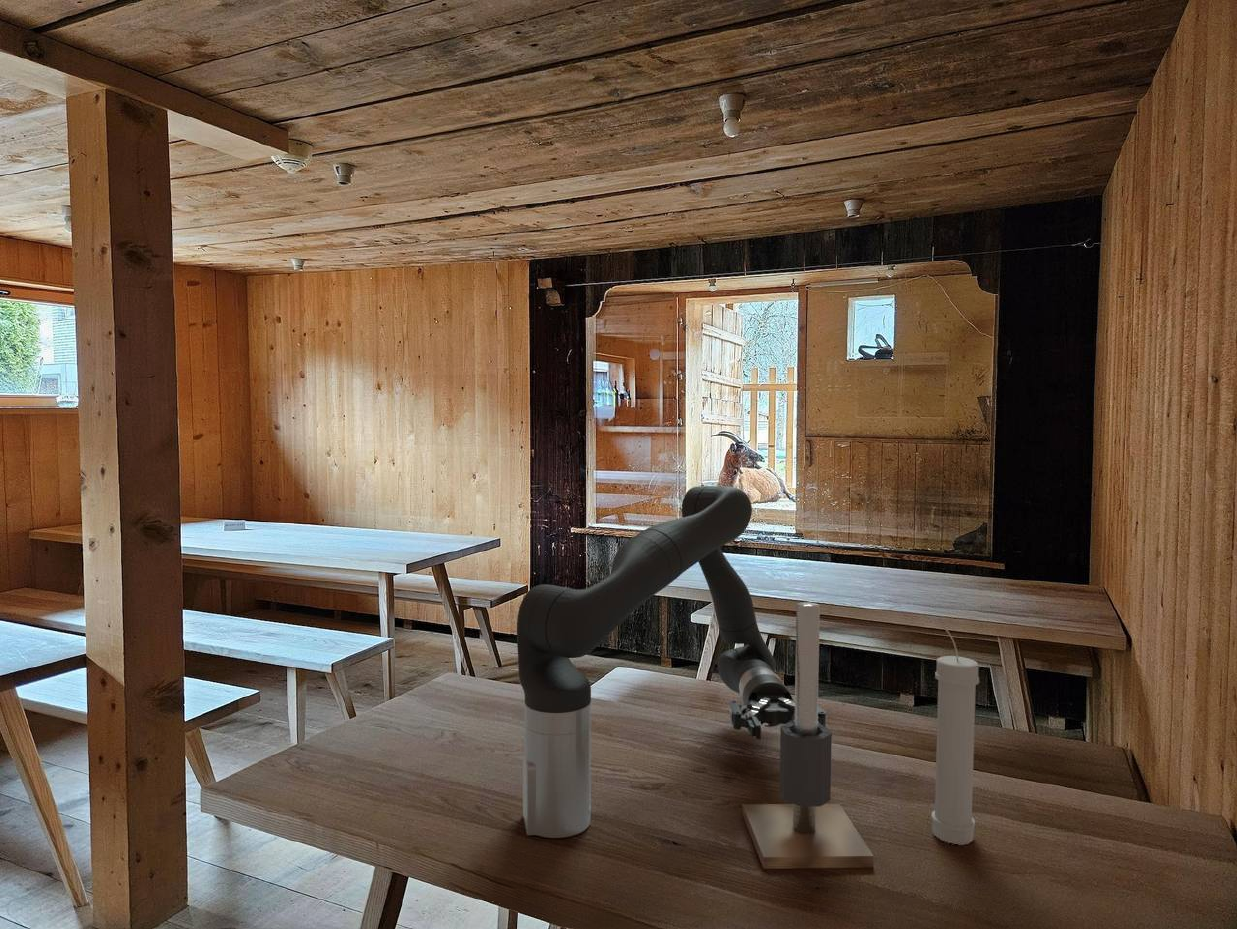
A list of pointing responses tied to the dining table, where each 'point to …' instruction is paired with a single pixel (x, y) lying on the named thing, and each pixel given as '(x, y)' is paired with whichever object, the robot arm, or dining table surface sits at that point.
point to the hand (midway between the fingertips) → (787, 733)
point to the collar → (805, 766)
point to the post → (793, 829)
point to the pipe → (955, 748)
